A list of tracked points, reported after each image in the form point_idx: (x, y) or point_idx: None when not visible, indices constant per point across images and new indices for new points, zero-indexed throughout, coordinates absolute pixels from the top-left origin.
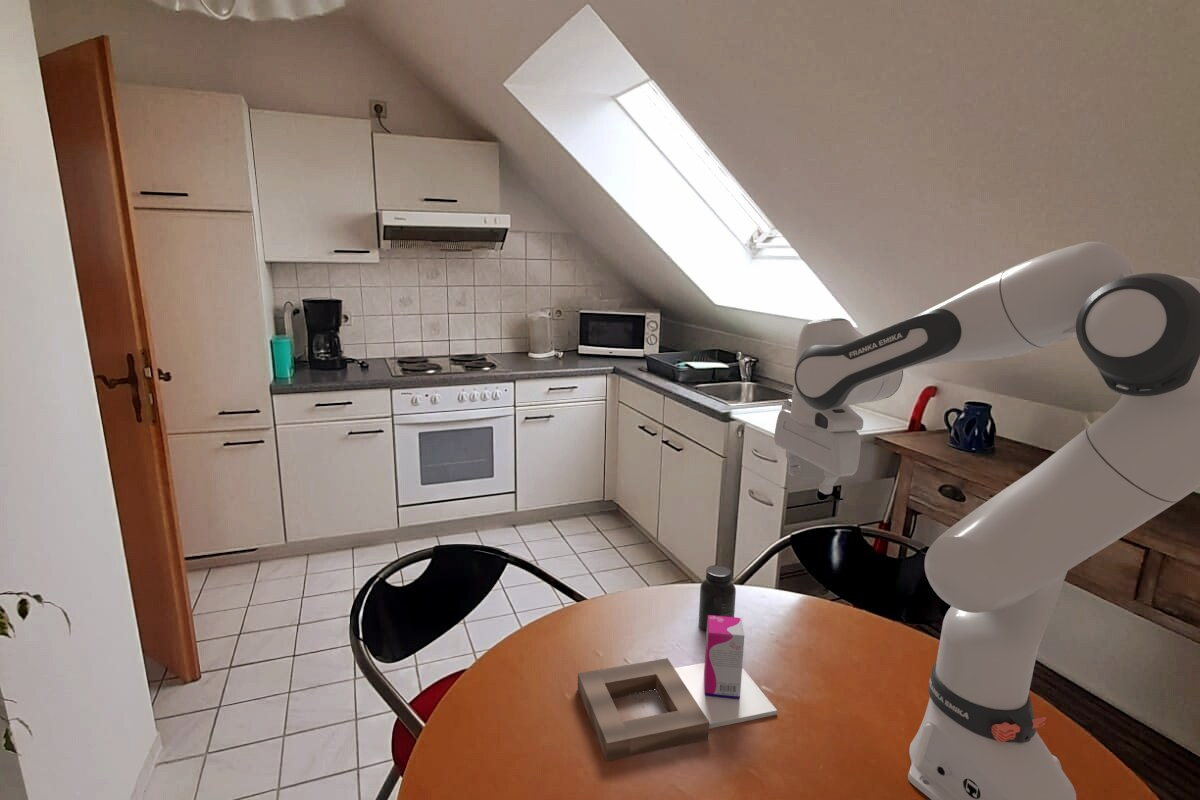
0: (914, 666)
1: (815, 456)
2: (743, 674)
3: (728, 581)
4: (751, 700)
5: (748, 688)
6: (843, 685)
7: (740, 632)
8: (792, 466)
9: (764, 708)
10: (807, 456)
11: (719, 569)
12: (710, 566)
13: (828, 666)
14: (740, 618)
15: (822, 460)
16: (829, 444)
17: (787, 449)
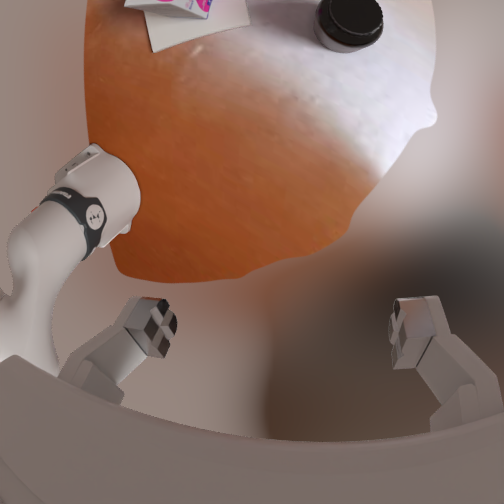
0: (230, 230)
1: (81, 449)
2: (213, 27)
3: (333, 22)
4: (168, 29)
5: (188, 28)
6: (199, 139)
7: (130, 1)
8: (424, 342)
9: (156, 40)
10: (165, 458)
11: (362, 14)
12: (377, 4)
13: (234, 138)
14: (167, 2)
15: (38, 417)
16: (2, 479)
17: (476, 433)
